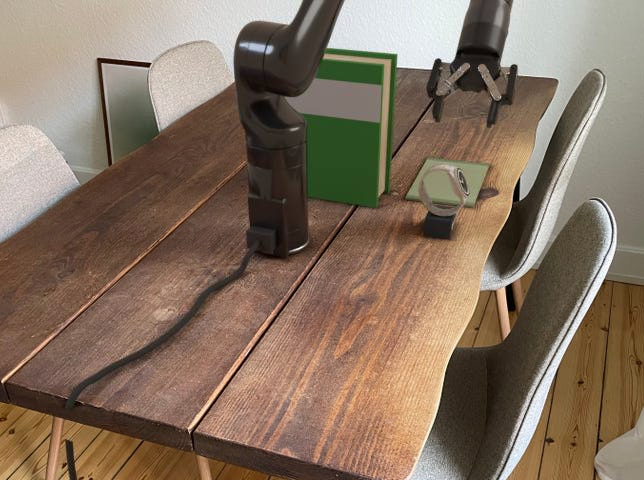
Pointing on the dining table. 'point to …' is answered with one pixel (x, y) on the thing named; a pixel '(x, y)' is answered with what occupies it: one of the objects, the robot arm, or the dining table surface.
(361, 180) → the hardback book
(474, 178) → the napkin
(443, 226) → the watch
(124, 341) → the dining table surface
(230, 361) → the dining table surface
